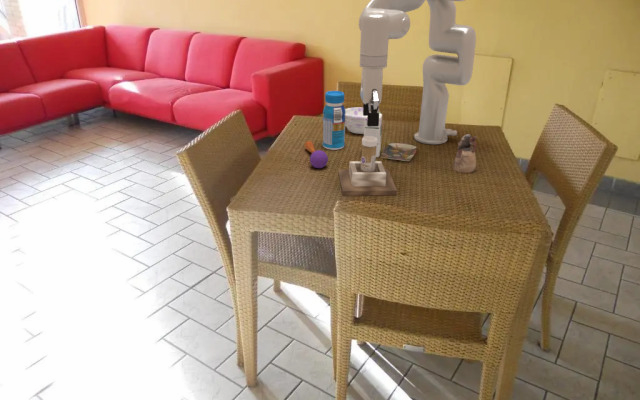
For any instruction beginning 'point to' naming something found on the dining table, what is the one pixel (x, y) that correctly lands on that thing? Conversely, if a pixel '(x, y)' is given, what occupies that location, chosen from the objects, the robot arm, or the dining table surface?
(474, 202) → the dining table surface
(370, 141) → the sprinkles bottle
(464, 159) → the figurine
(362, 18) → the robot arm
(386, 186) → the socket board
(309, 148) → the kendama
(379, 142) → the syrup box
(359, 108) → the paper bowls
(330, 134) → the beverage bottle
